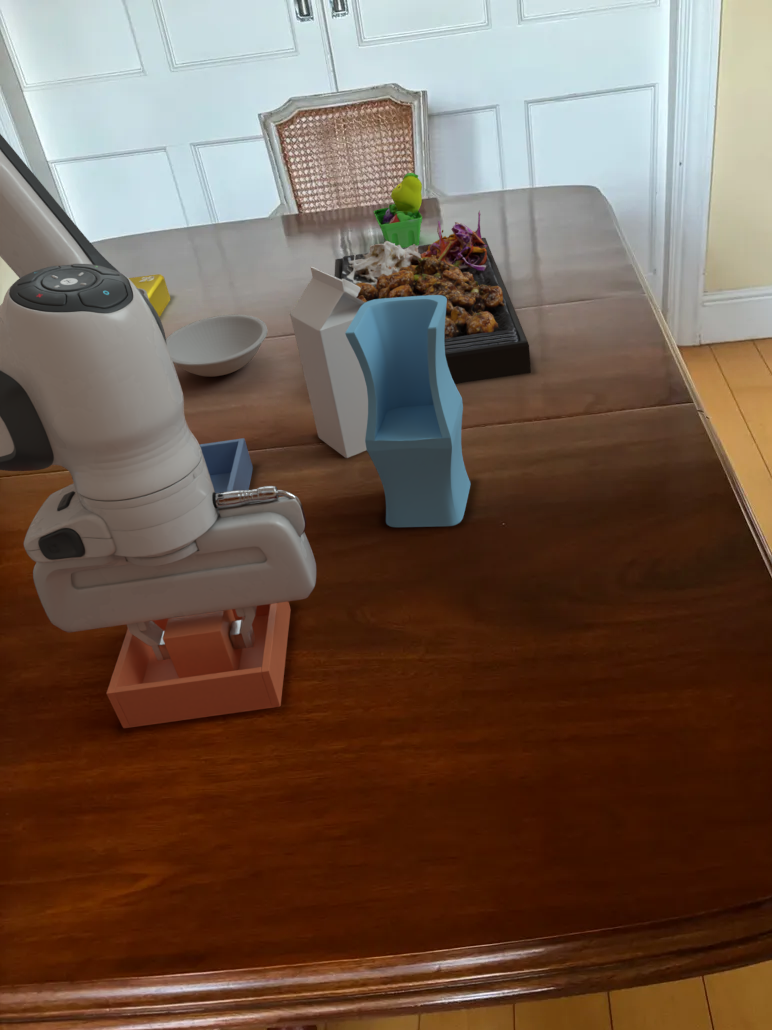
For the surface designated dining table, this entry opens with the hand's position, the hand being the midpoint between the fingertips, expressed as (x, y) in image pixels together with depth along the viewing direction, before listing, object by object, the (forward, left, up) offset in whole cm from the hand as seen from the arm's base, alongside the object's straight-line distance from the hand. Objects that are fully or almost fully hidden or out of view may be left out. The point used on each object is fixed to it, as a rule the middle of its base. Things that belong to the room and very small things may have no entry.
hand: (207, 649), depth 72 cm
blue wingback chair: (+19, +20, -2) cm, 28 cm away
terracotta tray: (0, 0, -2) cm, 2 cm away
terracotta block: (0, 0, -2) cm, 2 cm away
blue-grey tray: (-6, +27, -2) cm, 28 cm away
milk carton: (+12, +37, -2) cm, 39 cm away
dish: (-7, +63, -2) cm, 63 cm away
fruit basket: (+20, +112, -2) cm, 114 cm away
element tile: (-28, +92, -2) cm, 96 cm away
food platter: (+21, +70, -2) cm, 73 cm away
